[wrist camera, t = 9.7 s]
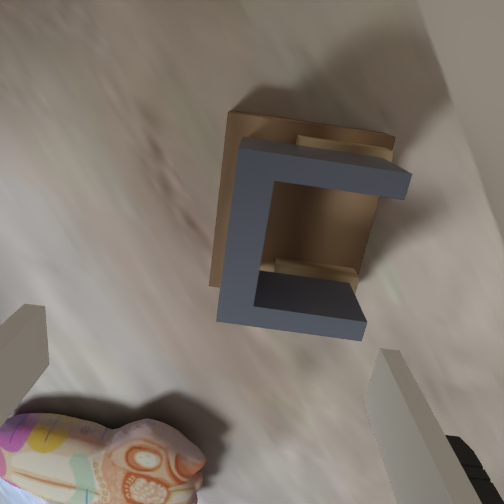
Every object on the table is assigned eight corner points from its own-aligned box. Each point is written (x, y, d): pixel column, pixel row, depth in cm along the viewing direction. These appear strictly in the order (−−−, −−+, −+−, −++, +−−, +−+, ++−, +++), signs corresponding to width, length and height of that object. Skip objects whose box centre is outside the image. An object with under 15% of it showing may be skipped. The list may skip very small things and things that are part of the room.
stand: (212, 271, 38) (206, 296, 33) (230, 110, 32) (225, 113, 28) (343, 289, 38) (354, 316, 34) (384, 133, 33) (404, 140, 28)
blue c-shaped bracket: (223, 282, 33) (216, 321, 27) (243, 136, 28) (238, 147, 23) (344, 299, 33) (361, 341, 28) (383, 158, 29) (412, 174, 23)
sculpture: (42, 486, 54) (221, 493, 51) (12, 540, 48) (212, 551, 45) (-5, 398, 46) (203, 400, 43) (-48, 449, 40) (190, 456, 37)
